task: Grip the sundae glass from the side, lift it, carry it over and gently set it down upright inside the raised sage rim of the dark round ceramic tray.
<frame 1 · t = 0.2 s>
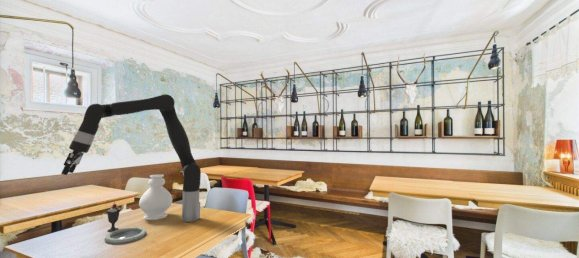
hand: (67, 173, 119), 31 cm above the table, tool tilted 20°, fingers open, 8 cm apart
decorative vase: (155, 216, 150), on the table
sundae: (113, 230, 128), on the table
tray: (126, 236, 120), on the table
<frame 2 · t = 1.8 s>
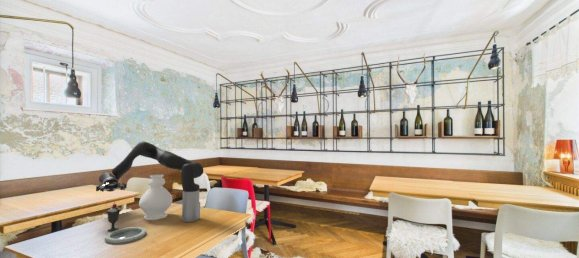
hand: (112, 188, 137), 19 cm above the table, tool horizontal, fingers open, 8 cm apart
nothing on the table moved.
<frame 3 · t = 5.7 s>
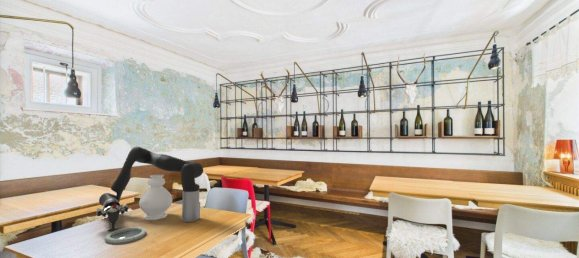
hand: (114, 213, 127), 9 cm above the table, tool horizontal, fingers closed on sundae, 6 cm apart
sundae: (113, 230, 128), on the table, touching gripper
everything else where it was.
when the fingers open (10 cm above the table, at t = 12.5 s): sundae stays where it is, resting on tray.
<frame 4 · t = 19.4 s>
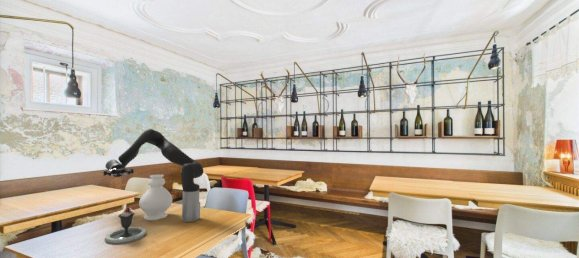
hand: (119, 173, 138), 28 cm above the table, tool horizontal, fingers open, 8 cm apart
sundae: (126, 235, 121), resting on tray
everything else where it was.
at the end: sundae 0.1 cm off-centre on the tray, point 0.3 cm above the tray's base; sundae tilted 0°; the gripper is holding nothing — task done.
